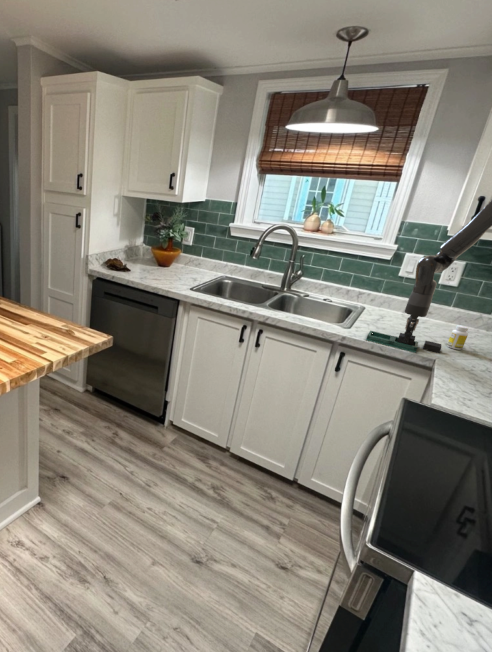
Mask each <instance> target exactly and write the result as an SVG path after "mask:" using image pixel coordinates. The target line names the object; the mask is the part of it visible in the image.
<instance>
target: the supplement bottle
mask: <svg viewBox="0 0 492 652" xmlns="http://www.w3.org/2000/svg"><path fill="white" fill-rule="evenodd" d="M468 330H469V327H468V326H465V325H461V324H457V325H456V326H455V329H452V331H451V333H450V336H449V338H448V341H447V343H446V346H447V348H450V349H453V350H459V351H461V350H463V349H464V347H465V343H466V341H467V338H468V336H469V334H468Z"/></svg>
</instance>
